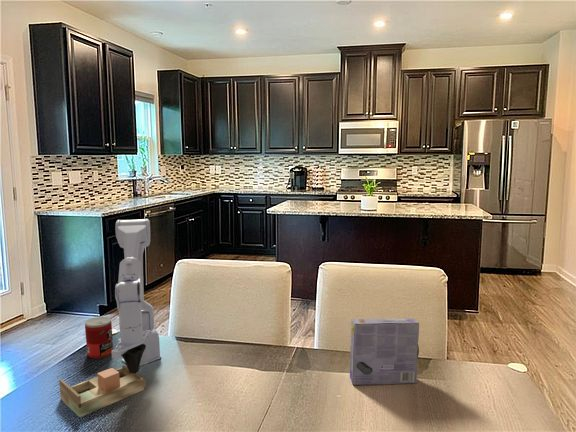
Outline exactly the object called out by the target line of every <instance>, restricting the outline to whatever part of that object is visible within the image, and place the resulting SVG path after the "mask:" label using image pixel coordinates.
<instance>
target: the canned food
mask: <svg viewBox="0 0 576 432" xmlns="http://www.w3.org/2000/svg"><path fill="white" fill-rule="evenodd" d="M112 325H113V324H112V319H111V318H110V317H109V316H96V317H93V318H90V319H87V320H86V321H85V322H84V329H85V331H84V333H85V342H86V343H85V344H86V354H87V356H88V357H89V358H91V359H103V358H106V357H107V358H108V357H109V356H110V355H112V352H111V351H112V350H114V341H113V326H112Z"/></svg>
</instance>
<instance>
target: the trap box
mask: <svg viewBox="0 0 576 432" xmlns="http://www.w3.org/2000/svg"><path fill="white" fill-rule="evenodd" d="M115 370H116V371H118V372H119V377H120V387H118V388H115V389H113V390H110V391H108V392H104V391H102V390H101V389H100V388H98V376H95V377H93V378H91V379H88V380H85V381H82V382H79V383H77V384H75V385H71V386H70V385H69V384H68V383H67V382H65V380H63V378H60V379H59V381H58V382H59V383H58V384H59V394H60V400H61V401H62V402H63V403H64V404H65V405H66V406H67V407H68V408H69V409H71V411H73V413H75V415H76V416H77V417H78V418H82V417H84V416H87V415H88V414H91V413H93V412H95V411H98V410H100V409H103V408H105V407H107V406H110V405H112V404H114V403H116V402H120V401H121V400H123V399H126V398H127V397H131V396H133V395H135V394H138V393H140V392H142V391H145V390H147V386H146V378H144V377H143V376H141V375H140V374H138V372H137V373H136V374H134V373H129V370H128V367H127V365H124V364H123V365H122V366H121V367H119V368H117V369H115Z"/></svg>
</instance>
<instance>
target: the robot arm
mask: <svg viewBox="0 0 576 432" xmlns="http://www.w3.org/2000/svg"><path fill="white" fill-rule="evenodd" d="M114 227H115V229H114V230H115V238H116V239H117V243H118V245H119V247H120V248H121V249H123V254H124V259H122V260H121V261H120V262H119V270H118V281H117V283H116V284H115V289H114V295H115V301H116V306H117V307H116V308H117V311H118V320H119V321H118V322H119V324H118V325H119V335H120V338H118V339H117V344H116V346H115V348H113V350H112V351H111V352H112V354H111V358H112V359H116V360H119V359H121V357H122V359H121V362H123V363H125V364H126V365H125V366H126V367H128V370H129V373H134V374H136V373H137V374H138V372H139V370H140V367H141V366H145V365H146V364H149V363H151V362H155V361H157V360H159V359H162V356H161V347H160V346H161V345H160V336H159V333H158V331H157V330H156V329H155V314H154V307H153V305H152V304H150V303H149V302H148V301H146V300H145V298H144V297H145V294H144V293H145V292H144V291H145V289H144V252H145V248H147V247H149V246H150V244H151V222H150V220H149V218H142V219H117V220H116V222H115V226H114Z"/></svg>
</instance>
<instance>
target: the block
mask: <svg viewBox="0 0 576 432" xmlns="http://www.w3.org/2000/svg"><path fill="white" fill-rule="evenodd" d="M116 370H117V369H115V368H113V367H111V368H108V369H105V370H101V371H100V372H97V374H96V375H97V377H98V388H100V389H101V390H102V391H104V392H108V391H110V390H113V389H115V388H118V387H120V377H119V372H118V371H116Z"/></svg>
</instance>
